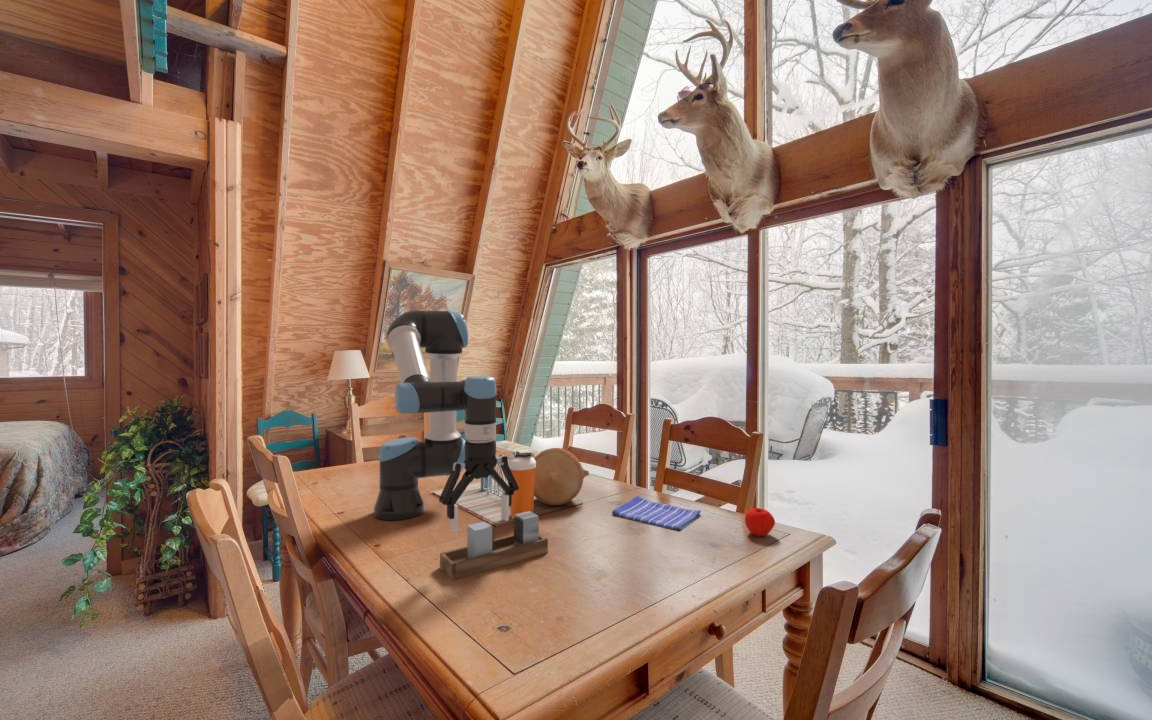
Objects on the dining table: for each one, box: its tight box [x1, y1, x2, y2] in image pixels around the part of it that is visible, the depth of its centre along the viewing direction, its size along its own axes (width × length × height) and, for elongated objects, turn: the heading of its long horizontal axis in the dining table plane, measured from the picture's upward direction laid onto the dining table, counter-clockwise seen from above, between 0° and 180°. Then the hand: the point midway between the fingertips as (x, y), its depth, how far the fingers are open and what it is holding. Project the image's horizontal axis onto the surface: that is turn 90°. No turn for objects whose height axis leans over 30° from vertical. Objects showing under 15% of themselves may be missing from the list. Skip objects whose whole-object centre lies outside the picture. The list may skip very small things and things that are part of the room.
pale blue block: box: [466, 521, 495, 559], centre depth 125 cm, size 4×5×8 cm
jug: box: [533, 447, 590, 506], centre depth 179 cm, size 20×19×30 cm
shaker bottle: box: [508, 450, 536, 519], centre depth 159 cm, size 9×9×20 cm
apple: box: [744, 507, 776, 537], centre depth 145 cm, size 8×8×7 cm
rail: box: [439, 511, 549, 581], centre depth 127 cm, size 8×26×10 cm, turn 126°
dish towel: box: [611, 495, 702, 531], centre depth 161 cm, size 17×24×3 cm
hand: (480, 525), depth 125 cm, fingers open, 13 cm apart
